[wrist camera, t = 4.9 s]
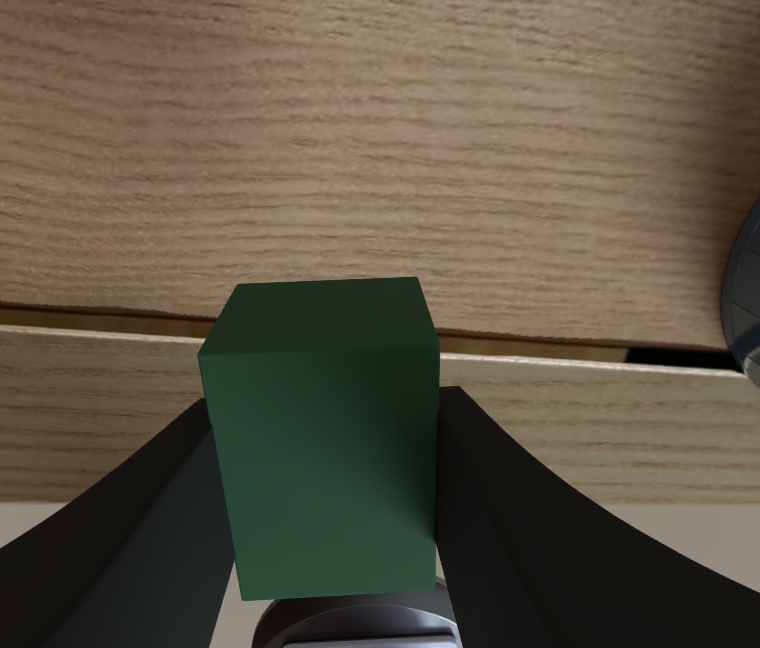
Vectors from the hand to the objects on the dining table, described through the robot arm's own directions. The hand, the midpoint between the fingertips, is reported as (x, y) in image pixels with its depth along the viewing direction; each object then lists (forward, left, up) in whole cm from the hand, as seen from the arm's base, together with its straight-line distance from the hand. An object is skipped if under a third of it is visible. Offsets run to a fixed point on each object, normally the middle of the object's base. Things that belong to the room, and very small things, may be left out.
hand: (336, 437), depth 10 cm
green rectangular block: (0, 0, -2) cm, 2 cm away
